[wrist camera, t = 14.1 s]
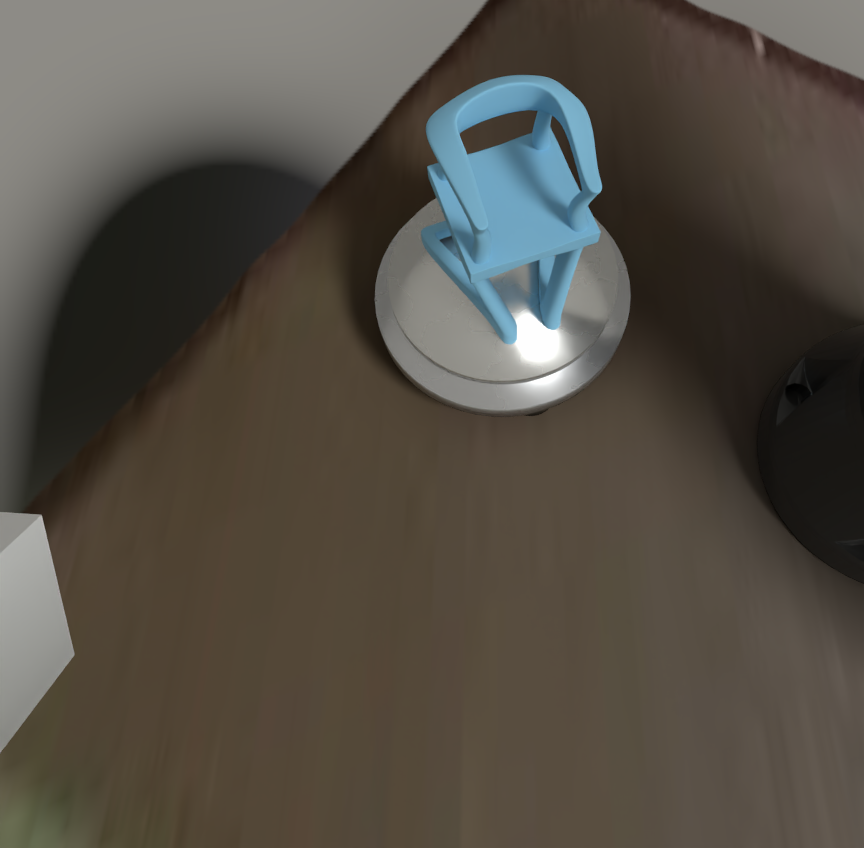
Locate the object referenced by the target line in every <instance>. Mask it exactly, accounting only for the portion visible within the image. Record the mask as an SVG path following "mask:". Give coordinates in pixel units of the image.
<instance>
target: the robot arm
mask: <svg viewBox="0 0 864 848" xmlns="http://www.w3.org/2000/svg"><path fill="white" fill-rule="evenodd" d="M757 450H758V460H759V466H760V471H761V475H762V478H763V482H764V485H765V487H766V490H767V492H768V495H769V497H770V499H771V501H772V503H773V505H774V507H775V509H776V510H777V512H778V514H779V515H780V517H781V518H782V520H783V521H784V523H785V524H786V525H787V527H788V528H789V529H790V530H791V532H792V533H793V534H794V535H795V536H796V537H797V538H798V540H799V541H800V542H801V543H802V544H803V545H804V546H805V547H807V548H808V549H809V550H810V551H811V552H812V553H813V554H815V555H816V556H817V557H818V558H819V559H821V560H822V561H824V562H825V563H826V564H828V565H829V566H831V567H832V568H834V569H836V570H837V571H839V572H841V573H843V574H844V575H846V576H848V577H850V578H852V579H855V580H857V581H859V582H862V583H864V324H863V325H859V326H856V327H853V328H849V329H847V330H844V331H841V332H839V333H836V334H834V335H832V336H830V337H828V338H826V339H825V340H823V341H821V342H819V343H818V344H816V345H815V346H813V347H812V348H811V349H809V350H808V351H807V352H806V353H804V354H803V355H802V356H801V357H800V358H799V359H798V360H797V361H796V362H795V363H794V364H793V365H792V366H791V367H790V368H789V369H788V370H787V371H786V373H785V374H784V375H783V376H782V377H781V378H780V379H779V381H778V382H777V383H776V385H775V386H774V388H773V389H772V391H771V393H770V394H769V396H768V398H767V400H766V403H765V405H764V408H763V411H762V414H761V418H760V422H759V428H758V438H757ZM73 656H74V651H73V646H72V642H71V638H70V634H69V629H68V625H67V621H66V617H65V612H64V608H63V604H62V600H61V595H60V591H59V587H58V583H57V578H56V574H55V570H54V566H53V561H52V557H51V553H50V549H49V544H48V540H47V536H46V532H45V527H44V523H43V519H42V515H36V514H21V513H5V512H0V753H1V751H2V750H3V749H4V747H5V746H6V745H7V743H8V742H9V741H10V739H11V738H12V737H13V735H14V734H15V733H16V731H17V730H18V729H19V727H20V726H21V725H22V724H23V722H24V721H25V720H26V718H27V717H28V716H29V714H30V713H31V712H32V710H33V709H34V708H35V706H36V705H37V704H38V702H39V701H40V700H41V698H42V697H43V696H44V694H45V693H46V692H47V690H48V689H49V688H50V687H51V685H52V684H53V683H54V681H55V680H56V679H57V677H58V676H59V675H60V673H61V672H62V671H63V669H64V668H65V667H66V665H67V664H68V663H69V661H70V660H71V659H72V657H73Z"/></svg>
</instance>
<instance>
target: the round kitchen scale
mask: <svg viewBox="0 0 864 848" xmlns="http://www.w3.org/2000/svg"><path fill="white" fill-rule="evenodd" d="M594 219H595V218H594ZM443 221H446V220H445V217H444V214H443V212H442V210H441V207H440V205H439V203H438V200H437V198H436V199H434V200H433V201H431V202H429V203H428V204H427V205H426V206H425V207H423V208H422V209H421V210H420V211H419V212H418V213H417V214H416V215H415V216H414V217H412V218H411V219H410V220H409V221H408V222H407V223H406V224H405V225H404V226H403V227H402V228H401V230H400V231H399V232H398V233H397V235H396V236H395V237H394V239H393V240H392V242H391V243H390V245H389V247H388V249H387V251H386V252H385V254H384V256H383V259H382V262H381V265H380V267H379V270H378V275H377V280H376V285H375V308H376V316H377V320H378V324H379V328H380V331H381V335H382V338H383V340H384V343H385V345H386V348H387V350H388V352H389V354H390V356H391V357H392V359H393V361H394V362H395V364H396V365H397V367H398V368H399V369H400V370H401V372H402V373H403V374H404V376H405V377H406V378H407V379H409V380H410V381H411V382H412V383H413V384H414V385H415V386H416V387H417V388H418V389H420V390H421V391H423V392H424V393H425V394H427V395H428V396H429V397H431V398H433V399H435V400H437V401H439V402H440V403H442V404H444V405H447V406H449V407H452V408H455V409H457V410H460V411H464V412H468V413H472V414H476V415H484V416H492V417H511V416H519V415H526V416H535V415H539V414H542V413H543V412H545V411H546V410H548V409H549V408H551V407H554V406H556V405H559V404H561V403H563V402H565V401H567V400H568V399H570V398H572V397H574V396H575V395H577V394H578V393H579V392H581V391H582V390H584V389H585V388H586V387H588V386H589V385H590V384H591V383H592V382H593V381H594V380H595V379H596V378H597V377H598V376H599V375H600V374H601V373H602V371H603V370H604V369H605V367H606V366H607V365H608V364H609V362H610V361H611V359H612V357H613V355H614V354H615V352H616V350H617V348H618V345H619V343H620V340H621V338H622V335H623V333H624V330H625V328H626V324H627V320H628V316H629V311H630V299H631V293H630V281H629V276H628V272H627V267H626V265H625V262H624V259H623V257H622V254H621V252H620V250H619V248H618V247H617V245H616V243H615V241H614V240H613V238H612V237H611V236H610V234H609V233H608V232H607V230H606V229H605V228H604V227H603V226H602V225H601V224H600V223H599V222H598V221H597V220H596V219H595V221H596V223H597V225H598V228H599V230H600V232H601V233H600V237H599V240H598V242H597V243H594V244H591V245H588V246H585V247H583V249H582V252H581V254H580V257H579V260H578V263H577V266H576V269H575V272H574V275H573V278H572V281H571V284H570V287H569V291H568V294H567V297H566V300H565V304H564V307H563V310H562V314H561V322H560V326H559V328H557V329H556V330H550V329H548V328H547V327H546V326H545V325H544V322H543V320H542V316H541V311H540V301H539V260H537V261H534V262H531V263H528V264H525V265H522V266H519V267H517V268H514V269H512V270H509V271H507V272H504V273H502V274H499V275H497V276H494V277H490V278H489V280H490V281H491V283H492V284H493V286H494V288H495V289H496V291H497V293H498V294H499V296H500V297H501V299H502V300H503V302H504V303H505V305H506V306H507V308H508V310H509V311H510V313H511V314H512V316H513V318H514V319H515V321H516V324H517V340H516V342H515V343H513V344H509V345H508V344H505V343H504V342H503V341H502V340H501V338H500V337H499V336H498V334H497V333H496V331H495V330H494V328H493V327H492V326H491V324H490V323H489V322H488V321H487V319H486V318H485V317H484V316H483V314H482V313H481V312H480V311H479V310H478V309H477V308H476V306H475V305H474V304H473V303H472V302H471V301H470V300H469V299H468V297H467V296H466V295H465V294H464V293H463V292H462V291H461V290H460V289H459V287H458V286H457V285H456V284H455V283H454V282H453V281H452V280H451V279H450V278H449V276H448V275H447V274H446V273H445V272H444V271H443V270H442V269H441V267H440V266H439V265H438V264H437V263H436V262H435V261H434V259H433V258H432V257H431V256H430V254H429V253H428V252H427V250H426V249H425V247H424V245H423V243H422V238H421V230H422V229H423V228H425V227H427V226H430V225H433V224H436V223H439V222H443ZM440 242H441V243H442V244H443V245H444V246H445V247H446V248H447V249H448V250H449V251H450V252H451V253H452V254H453V255H454V256H455V257H456V258H457V259H458V260H459V261H460V262H461V259H460V257H459V254H458V252H457V249H456V246H455V244H454V241H453V238H452V236H449V237H446V238H443V239H440ZM555 257H556V255H555ZM461 263H462V262H461Z"/></svg>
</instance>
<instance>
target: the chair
mask: <svg viewBox="0 0 864 848" xmlns="http://www.w3.org/2000/svg"><path fill="white" fill-rule="evenodd" d="M525 110H535V111H538V112H537V115H536V119H535V123H534V127H533V132H532V133H530V134H527V135H524V136H521V137H519V138H516V139H514V140H511V141H508V142H506V143H503V144H500V145H497V146H494V147H491V148H488V149H484V150H481V151H478V152H475V153H471V154H467V153H466V150H465V148H464V145H463V143H462V140H461V137H460V135H459V134H460V133H461V132H462V131H464V130H466V129H467V128H469V127H471V126H473V125H475V124H478V123H480V122H482V121H485V120H488V119H491V118H494V117H497V116H500V115H504V114H508V113H512V112H517V111H525ZM552 116H554V117H555V118H556V119H557V120H558V121H559V123H560V124H561V125H562V127H563V129H564V131H565V133H566V136H567V138H568V141H569V143H570V147H571V150H572V153H573V156H574V160H575V163H576V167H577V171H578V175H579V178H580V182H581V188H582V191H581V192H580V190H579V188H578V186H577V184H576V182H575V180H574V177H573V175H572V173H571V171H570V169H569V167H568V165H567V162H566V160H565V158H564V155H563V153H562V151H561V149H560V146H559V144H558V142H557V140H556V138H555V136H554V134H553V132H552V130H551V128H550V123H551V117H552ZM426 134H427V139H428V141H429V144H430V146H431V148H432V150H433V152H434V154H435V156H436V158H437V160H438V162H439V163H436V164H433V165H430V166H427V170H428V178H429V181H430V183H431V186H432V188H433V191H434V193H435V196H436V198H437V200H438V203H439V205H440V207H441V210H442V212H443V214H444V217H445V220H446V221H443V222H439V223H436V224H433V225H430V226H427V227H425V228H423V229H422V230H421V238H422V243H423V245H424V247H425V249H426V250H427V252H428V253H429V254H430V256H431V257H432V258H433V259H434V261H435V262H436V263H437V264H438V265H439V266H440V267H441V269H442V270H443V271H444V272H445V273H446V274H447V275H448V276H449V278H450V279H451V280H452V281H453V282H454V283H455V284H456V285H457V286H458V287H459V289H460V290H461V291H462V292H463V293H464V294H465V295H466V296H467V297H468V299H469V300H470V301H471V302H472V303H473V304H474V305H475V306H476V308H477V309H478V310H479V311H480V312H481V313H482V314H483V316H484V317H485V318H486V319H487V321H488V322H489V323H490V324H491V326H492V327H493V328H494V330H495V331H496V333H497V334H498V336H499V337H500V338H501V340H502V341H503V342H504V343H505V344H508V345H509V344H513V343H515V342H516V340H517V324H516V321H515V319H514V318H513V316H512V314H511V313H510V311H509V310H508V308H507V306H506V305H505V303H504V302H503V300H502V299H501V297H500V296H499V294H498V293H497V291H496V289H495V288H494V286H493V284H492V283H491V281H490V280H489V278H490V277H494V276H497V275H499V274H502V273H504V272H507V271H509V270H512V269H514V268H517V267H519V266H522V265H525V264H528V263H531V262H534V261H537V260H539V301H540V311H541V316H542V320H543V322H544V325H545V326H546V327H547V328H548V329H550V330H556V329H557V328H559V326H560V322H561V314H562V310H563V307H564V304H565V300H566V297H567V294H568V291H569V287H570V284H571V281H572V278H573V275H574V272H575V269H576V266H577V263H578V260H579V257H580V254H581V252H582V249H583V247H585V246H588V245H591V244H594V243H597V242H598V240H599V237H600V233H601V232H600V230H599V228H598V225H597V223H596V221H595V219H594V217H593V215H592V213H591V211H590V209H589V207H588V205H589V203H590V202H591V201H592V200H593V199H594V198H595V197H596V196H597V195H598V194H599V193H600V192H601V190H602V183H601V179H600V176H599V171H598V166H597V159H596V151H595V143H594V136H593V130H592V126H591V122H590V118H589V115H588V113H587V111H586V109H585V107H584V106H583V104H582V103H581V101H580V100H579V99H578V98H577V97H576V96H575V95H573V94H572V93H571V92H570V91H569V90H567V89H566V88H565V87H564V86H562V85H561V84H560V83H558V82H557V81H555V80H553V79H551V78H548V77H544V76H535V75H512V76H504V77H499V78H495V79H491V80H488V81H486V82H483V83H481V84H478V85H476V86H474V87H472V88H470V89H468V90H467V91H465V92H463V93H462V94H460V95H458V96H457V97H455V98H454V99H452V100H451V101H449V102H448V103H446V104H445V105H444V106H442V107H441V108H439V109H438V110H437V111H436V112H435V113H434V114H433V115H432V116H431V117H430V118H429V120H428V122H427V125H426ZM449 236H452V238H453V241H454V244H455V246H456V249H457V252H458V254H459V257H460V259H461V262H462V263H461V262H460V261H459V260H458V259H457V258H456V257H455V256H454V255H453V254H452V253H451V252H450V251H449V250H448V249H447V248H446V247H445V246H444V245H443V244H442V243H441V242H440V239H443V238H446V237H449ZM555 255H556V257H555Z"/></svg>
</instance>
